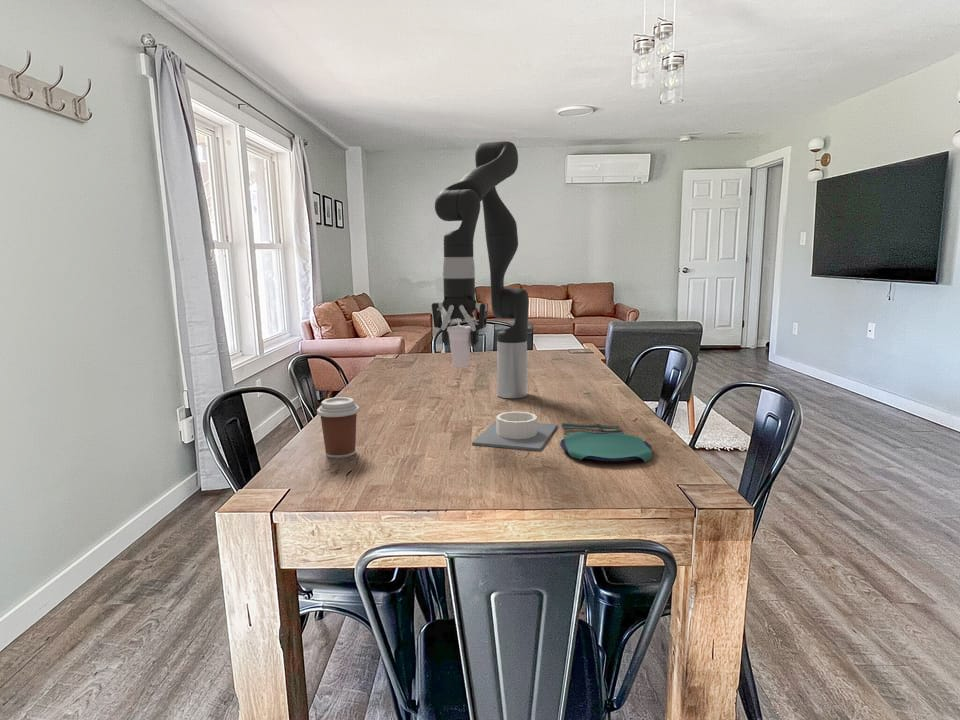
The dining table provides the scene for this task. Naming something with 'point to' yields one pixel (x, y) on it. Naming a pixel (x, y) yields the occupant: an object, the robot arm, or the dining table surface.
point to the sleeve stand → (516, 432)
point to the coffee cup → (339, 426)
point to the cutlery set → (604, 444)
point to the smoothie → (460, 344)
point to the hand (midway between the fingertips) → (460, 345)
